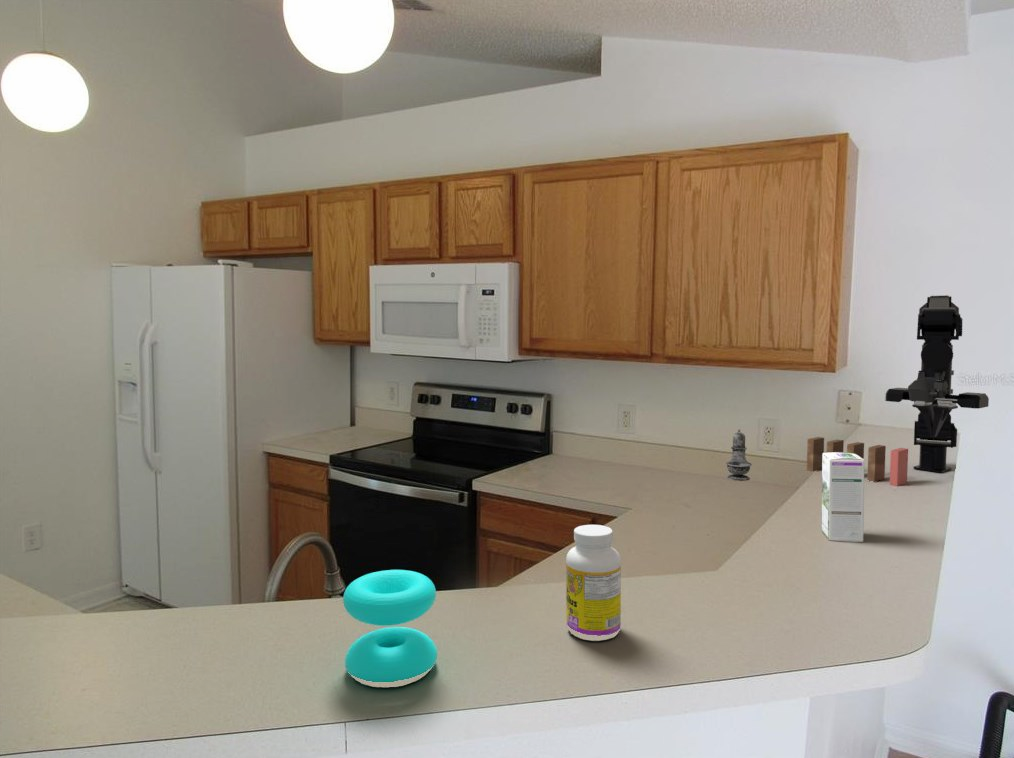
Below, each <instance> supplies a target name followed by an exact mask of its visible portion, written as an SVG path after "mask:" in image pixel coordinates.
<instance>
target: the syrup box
mask: <svg viewBox="0 0 1014 758" xmlns="http://www.w3.org/2000/svg"><path fill="white" fill-rule="evenodd" d="M822 456H823V457H822V469H821V526H820V527H821V532H822V533H823V534H824V536H825V537H826V538H827V539H828V540H829V541H832V542H833V541H835V542H848V543H849V542H850V543H852V542H853V543H864V527H865V526H864V525H865V524H864V523H865V521H864V520H865V519H864V518H865V458H864V459H862V458H861V457H859V456H858V455H856V454H855V453H847V451H846V452H844V451H843V452H831V453H827V452H824V453H823V455H822Z"/></svg>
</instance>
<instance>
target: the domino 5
mask: <svg viewBox="0 0 1014 758" xmlns="http://www.w3.org/2000/svg"><path fill="white" fill-rule="evenodd" d="M908 464H909V448H905V447H899V448H898V447H897V448H896V449H891V450H890V466H889V486H893V487H900V486H902V485H904V484H908V466H909V465H908Z"/></svg>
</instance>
